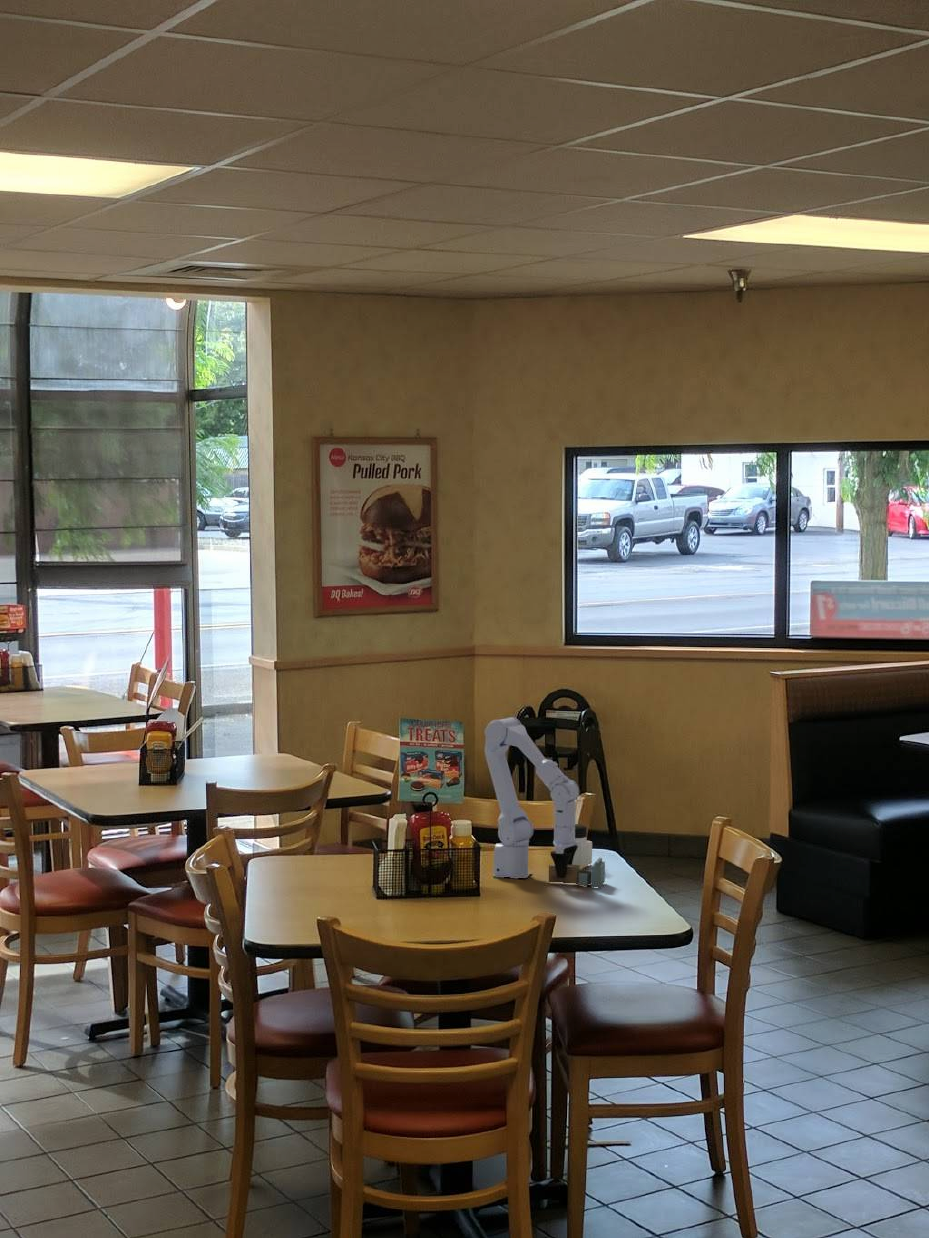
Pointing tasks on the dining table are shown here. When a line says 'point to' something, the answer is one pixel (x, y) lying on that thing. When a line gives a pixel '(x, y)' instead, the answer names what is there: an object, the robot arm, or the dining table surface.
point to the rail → (569, 874)
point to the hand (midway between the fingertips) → (563, 874)
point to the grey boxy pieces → (594, 875)
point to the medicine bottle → (582, 847)
